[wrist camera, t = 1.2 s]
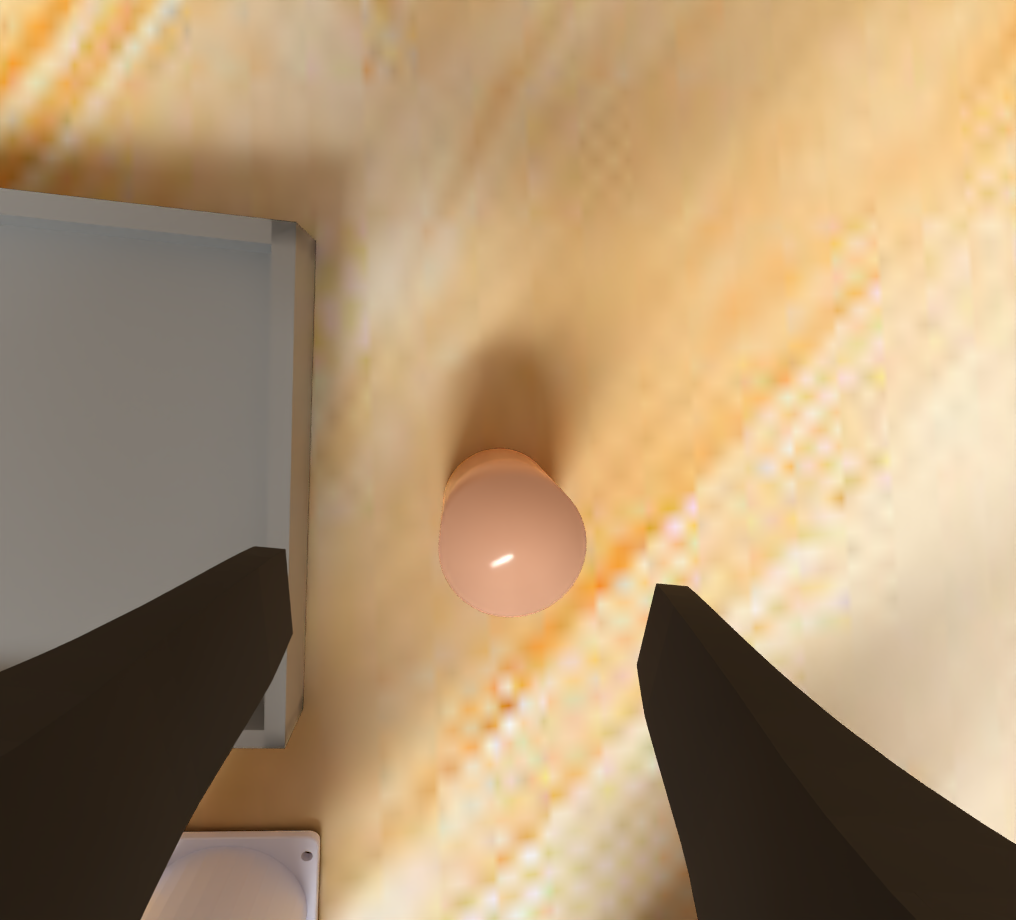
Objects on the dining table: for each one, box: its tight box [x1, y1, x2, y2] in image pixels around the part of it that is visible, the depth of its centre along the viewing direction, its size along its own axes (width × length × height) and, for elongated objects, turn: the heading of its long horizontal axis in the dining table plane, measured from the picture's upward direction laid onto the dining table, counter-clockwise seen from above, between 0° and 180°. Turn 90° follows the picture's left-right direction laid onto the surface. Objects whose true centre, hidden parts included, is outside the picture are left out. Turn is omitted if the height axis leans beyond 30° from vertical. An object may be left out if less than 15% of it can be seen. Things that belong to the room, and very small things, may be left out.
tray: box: [0, 188, 316, 748], centre depth 19 cm, size 20×20×2 cm
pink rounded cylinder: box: [439, 448, 586, 617], centre depth 20 cm, size 5×5×6 cm
